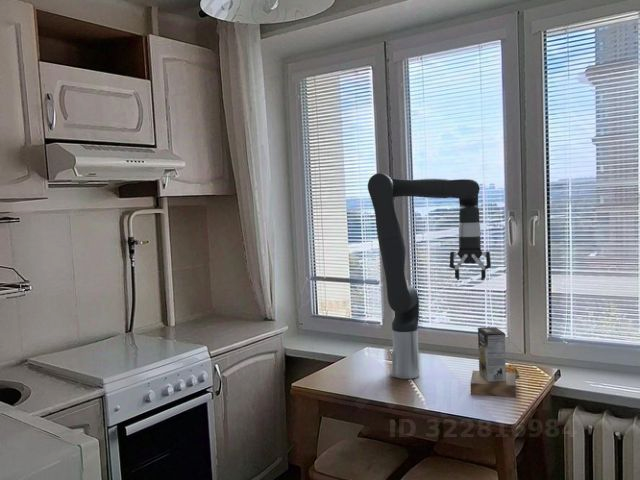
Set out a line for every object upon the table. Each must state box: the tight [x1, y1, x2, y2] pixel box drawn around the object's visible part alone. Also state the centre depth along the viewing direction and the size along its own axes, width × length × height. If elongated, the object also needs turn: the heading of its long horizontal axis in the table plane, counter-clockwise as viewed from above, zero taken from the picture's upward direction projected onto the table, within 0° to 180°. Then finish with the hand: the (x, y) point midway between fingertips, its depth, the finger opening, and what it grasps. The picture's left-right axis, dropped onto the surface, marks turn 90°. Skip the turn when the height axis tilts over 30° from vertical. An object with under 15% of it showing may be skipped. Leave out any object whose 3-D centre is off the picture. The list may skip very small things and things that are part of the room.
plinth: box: [470, 370, 517, 399], centre depth 187 cm, size 14×14×4 cm
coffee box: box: [477, 326, 506, 382], centre depth 186 cm, size 9×6×16 cm
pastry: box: [505, 364, 520, 378], centre depth 199 cm, size 9×7×4 cm
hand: (470, 279), depth 201 cm, fingers open, 8 cm apart
